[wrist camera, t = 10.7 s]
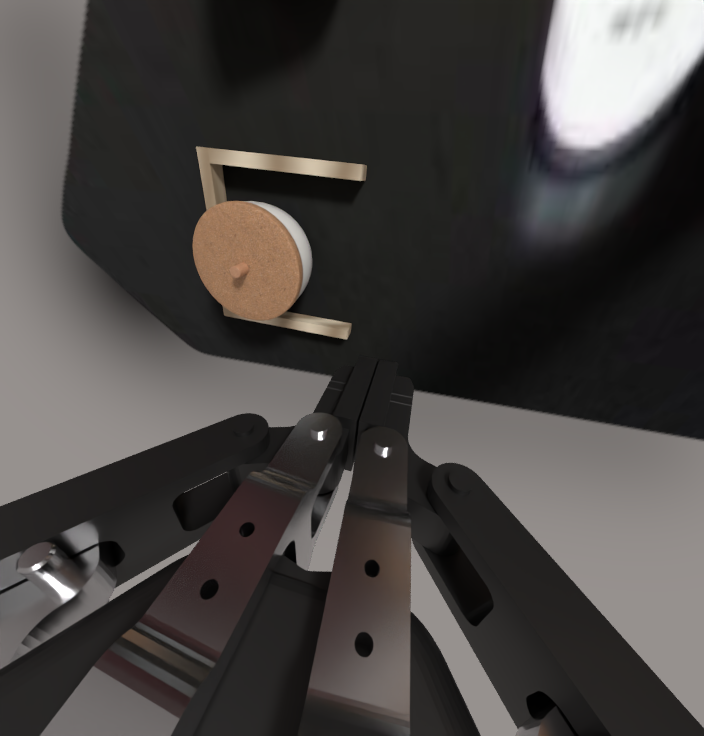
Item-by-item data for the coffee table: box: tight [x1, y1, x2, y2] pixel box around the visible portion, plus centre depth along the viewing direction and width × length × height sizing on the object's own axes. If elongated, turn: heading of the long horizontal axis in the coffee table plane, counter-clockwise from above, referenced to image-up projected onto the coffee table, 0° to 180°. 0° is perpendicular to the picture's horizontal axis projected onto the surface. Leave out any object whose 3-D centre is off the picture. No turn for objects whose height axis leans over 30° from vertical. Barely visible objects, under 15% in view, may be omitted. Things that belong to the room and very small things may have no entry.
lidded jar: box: [193, 201, 312, 321], centre depth 30 cm, size 11×11×9 cm
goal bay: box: [196, 147, 367, 339], centre depth 33 cm, size 16×17×2 cm
